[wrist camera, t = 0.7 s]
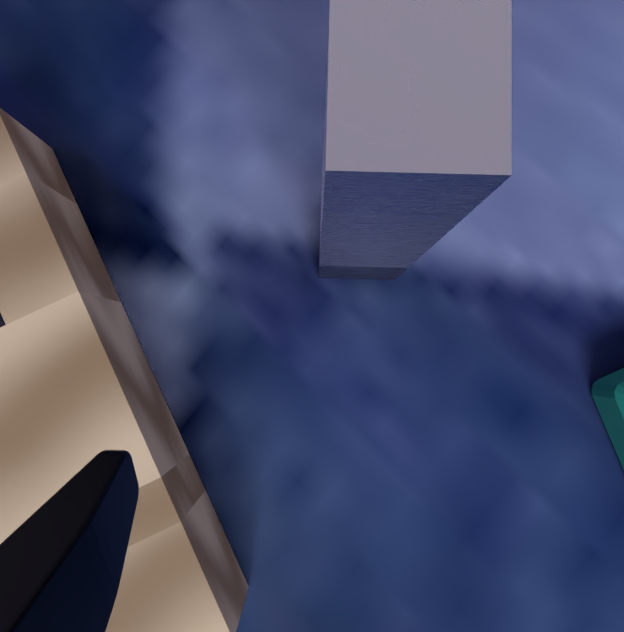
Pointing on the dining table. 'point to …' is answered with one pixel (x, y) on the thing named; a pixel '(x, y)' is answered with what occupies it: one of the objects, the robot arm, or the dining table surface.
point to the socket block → (95, 404)
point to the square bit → (410, 127)
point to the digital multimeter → (612, 408)
